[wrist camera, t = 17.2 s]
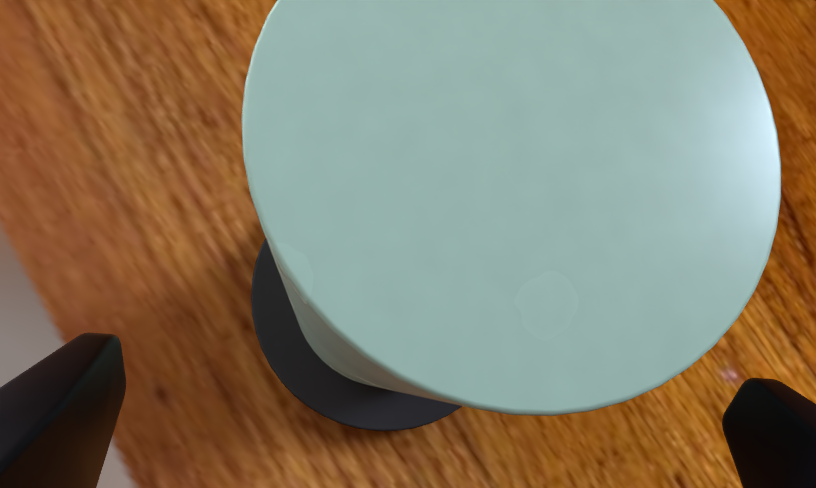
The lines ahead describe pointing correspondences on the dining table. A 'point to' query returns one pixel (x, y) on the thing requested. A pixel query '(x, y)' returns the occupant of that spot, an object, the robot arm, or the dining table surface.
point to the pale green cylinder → (511, 191)
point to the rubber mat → (326, 366)
